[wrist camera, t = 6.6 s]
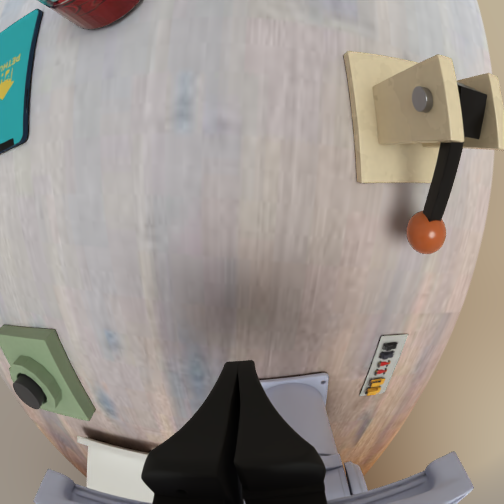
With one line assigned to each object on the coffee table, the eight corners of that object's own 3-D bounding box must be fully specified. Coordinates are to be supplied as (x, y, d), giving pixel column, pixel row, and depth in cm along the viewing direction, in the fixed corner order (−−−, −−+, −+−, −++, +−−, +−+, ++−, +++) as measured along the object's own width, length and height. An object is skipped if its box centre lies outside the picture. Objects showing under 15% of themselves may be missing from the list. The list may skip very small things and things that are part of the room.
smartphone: (40, 5, 12) (22, 141, 16) (44, 7, 13) (28, 140, 17) (-5, 36, 12) (-18, 161, 17) (-1, 37, 13) (-13, 160, 17)
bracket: (439, 182, 19) (520, 200, 10) (356, 182, 19) (429, 200, 11) (427, 69, 16) (501, 43, 7) (343, 54, 16) (399, 0, 8)
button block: (95, 409, 27) (84, 431, 23) (42, 397, 27) (30, 415, 23) (55, 329, 23) (35, 350, 19) (3, 324, 23) (-15, 340, 19)
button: (51, 402, 22) (45, 412, 20) (30, 396, 22) (24, 405, 20) (35, 376, 21) (28, 385, 19) (15, 370, 21) (7, 379, 19)
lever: (426, 233, 19) (444, 260, 17) (395, 236, 19) (412, 265, 17) (462, 83, 11) (495, 98, 9) (426, 73, 11) (460, 86, 9)
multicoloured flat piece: (408, 334, 24) (411, 338, 23) (384, 392, 26) (386, 397, 25) (381, 336, 23) (384, 340, 23) (359, 396, 26) (361, 400, 25)
